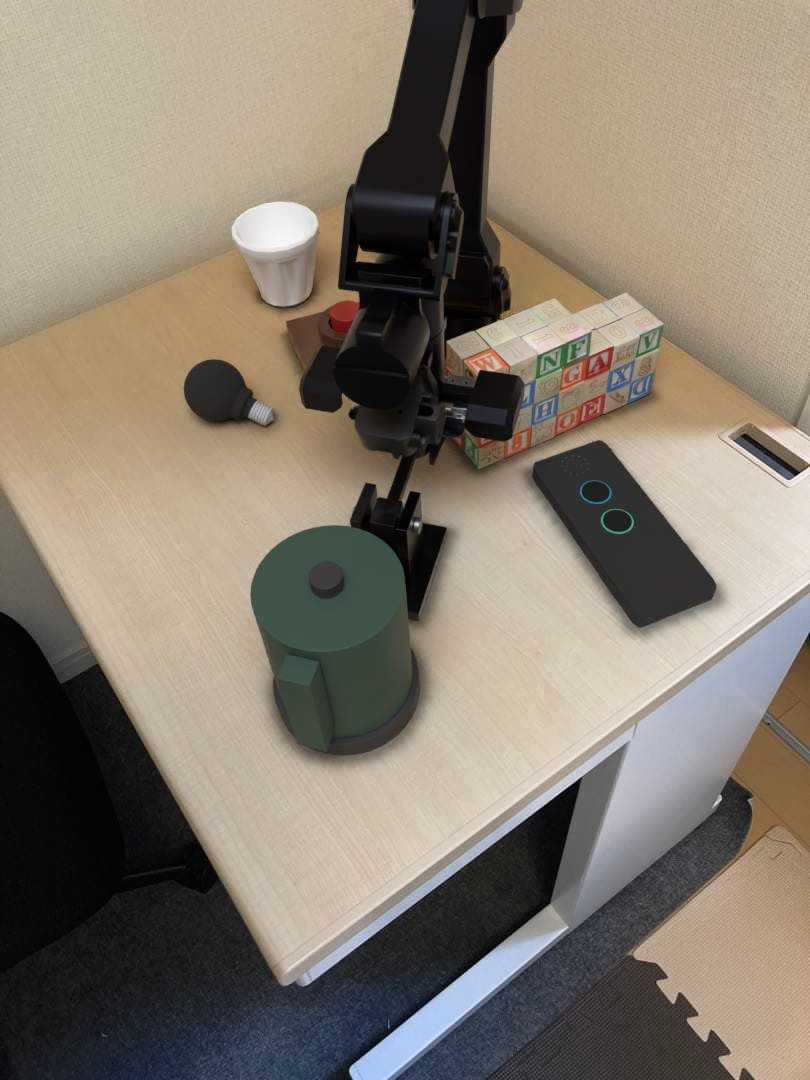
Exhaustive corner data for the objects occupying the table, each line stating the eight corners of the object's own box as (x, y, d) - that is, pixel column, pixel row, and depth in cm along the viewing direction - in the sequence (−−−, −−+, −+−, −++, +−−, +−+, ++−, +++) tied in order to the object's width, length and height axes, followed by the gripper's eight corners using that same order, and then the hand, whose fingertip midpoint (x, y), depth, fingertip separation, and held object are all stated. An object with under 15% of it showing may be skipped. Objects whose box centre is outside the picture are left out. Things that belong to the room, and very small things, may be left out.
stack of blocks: (615, 361, 100) (632, 265, 90) (651, 395, 96) (672, 299, 87) (446, 433, 94) (444, 339, 85) (477, 471, 91) (479, 378, 81)
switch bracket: (366, 519, 87) (358, 456, 81) (447, 535, 86) (446, 471, 79) (333, 603, 82) (321, 542, 75) (419, 621, 80) (415, 561, 73)
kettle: (305, 616, 81) (276, 496, 68) (435, 644, 78) (430, 526, 66) (248, 752, 73) (203, 645, 60) (391, 789, 70) (375, 685, 58)
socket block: (386, 310, 107) (383, 281, 104) (415, 362, 101) (414, 333, 98) (288, 336, 105) (283, 308, 102) (312, 390, 99) (307, 362, 96)
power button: (358, 309, 102) (356, 296, 100) (368, 328, 100) (367, 315, 98) (327, 318, 101) (325, 305, 100) (337, 337, 99) (335, 324, 98)
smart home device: (603, 436, 90) (722, 585, 79) (601, 449, 92) (717, 597, 80) (529, 462, 89) (638, 619, 77) (528, 474, 90) (635, 630, 78)
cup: (325, 317, 107) (315, 249, 100) (240, 320, 107) (225, 252, 100) (330, 267, 113) (321, 199, 106) (250, 269, 114) (236, 202, 106)
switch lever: (404, 437, 86) (401, 414, 83) (436, 443, 85) (435, 419, 82) (366, 539, 79) (362, 518, 77) (401, 546, 78) (399, 525, 76)
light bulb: (270, 412, 91) (179, 367, 91) (254, 457, 95) (167, 414, 95) (293, 381, 96) (206, 338, 95) (276, 425, 100) (194, 384, 100)
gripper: (262, 371, 70) (291, 504, 82) (501, 410, 66) (494, 543, 78) (311, 285, 76) (331, 420, 88) (531, 316, 72) (520, 452, 85)
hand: (415, 459), depth 85 cm, fingers closed on switch lever, 3 cm apart
